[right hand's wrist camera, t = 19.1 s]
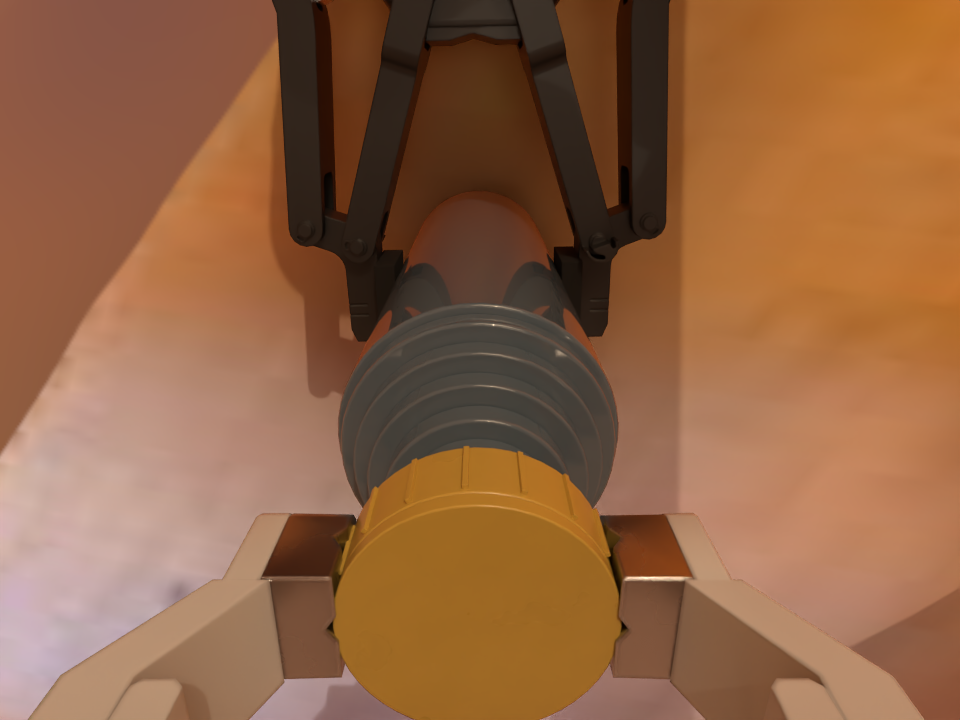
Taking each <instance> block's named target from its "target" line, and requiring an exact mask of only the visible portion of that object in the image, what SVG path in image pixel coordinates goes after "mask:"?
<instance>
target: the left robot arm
mask: <svg viewBox="0 0 960 720" xmlns="http://www.w3.org/2000/svg"><path fill="white" fill-rule="evenodd" d="M333 1H334V0H272V2H273V4H274V7H275V10H276V12H277V26H278V43H279V61H280V79H281V97H282V115H283V133H284V150H285V168H286V186H287V204H288V222H289V231H290V235H291V237H292V238H293V240H294V241H295V242H296V243H298V244H299V245H302V246H306V247H308V246H316V247H319V248H322V249H325V250H328V251H331V252H333V253H335V254H336V255H338V256H339V257H340V258H341V260H342V261H343V263H344V265H345V268H346V275H347V285H348V296H349V304H350V314H351V326H352V331H353V333H354V335H355V336H356V338H357V340H358V341H367V340H368V338H369V336H370V334H371V332H372V330H373V327H374V325H375V323H376V321H377V319H378V317H379V315H380V313H381V311H382V309H383V306H384V304H385V302H386V300H387V298H388V296H389V294H390V292H391V290H392V288H393V285H394V283H395V281H396V279H397V277H398V275H399V273H400V271H401V269H402V267H403V250H384V251H383V252H382V241H383V240H384V238H385V235H384V233H385V229H386V225H387V221H388V216H389V212H390V208H391V204H392V200H393V196H394V192H395V188H396V184H397V180H398V176H399V172H400V168H401V164H402V159H403V155H404V151H405V147H406V143H407V139H408V135H409V131H410V127H411V123H412V119H413V115H414V111H415V107H416V102H417V98H418V94H419V90H420V86H421V82H422V78H423V75H424V73H425V70H426V66H427V63H428V59H429V55H430V51H431V47H432V46H453V45H456V44H459V43H462V42H465V41H468V40H471V39H477V40H480V41H484V42H488V43H491V44H495V45H508V44H516V45H517V48H518V52H519V55H520V58H521V62H522V65H523V68H524V70H525V73H526V76H527V79H528V82H529V85H530V89H531V92H532V96H533V99H534V103H535V106H536V109H537V113H538V116H539V120H540V123H541V126H542V130H543V133H544V137H545V140H546V144H547V147H548V150H549V154H550V157H551V161H552V164H553V167H554V171H555V174H556V178H557V181H558V185H559V188H560V191H561V195H562V198H563V202H564V205H565V208H566V212H567V215H568V219H569V222H570V226H571V229H572V232H573V235H574V248H573V246H572V247H554V265H555V267H556V269H557V271H558V274H559V276H560V278H561V280H562V282H563V284H564V286H565V289H566V291H567V293H568V295H569V297H570V299H571V301H572V304H573V306H574V308H575V310H576V312H577V314H578V317H579V319H580V321H581V323H582V325H583V327H584V329H585V332H586V334H587V336H588V337H595V336H602V335H603V333H604V330H605V328H606V326H607V324H608V306H609V288H610V270H611V261H612V259H613V258H614V256H615V255H616V254H617V252H618V250H619V249H620V248H621V247H623V246H625V245H627V244H630V243H632V242H635V241H638V240H640V239H652V238H656V237H657V236H658V235H660V234H661V233H662V231H663V230H664V228H665V224H666V191H667V112H668V32H669V2H670V0H620V2H619V7H618V14H617V29H616V46H617V117H618V188H619V205H617V206H614V207H612V208H609V209H607V207H606V204H605V200H604V196H603V192H602V189H601V185H600V181H599V178H598V174H597V170H596V166H595V163H594V159H593V155H592V152H591V148H590V144H589V140H588V137H587V133H586V129H585V126H584V122H583V118H582V114H581V111H580V107H579V103H578V100H577V96H576V92H575V89H574V85H573V81H572V77H571V74H570V70H569V66H568V62H567V58H566V49H565V44H564V39H563V36H562V32H561V28H560V24H559V21H558V17H557V13H556V9H555V6H556V5H557V3H558V2H559V0H383V1H384V2H385V4H386V5H387V6H388V8H389V9H390V14H389V19H388V23H387V28H386V32H385V37H384V42H383V47H382V53H381V66H380V71H379V75H378V80H377V84H376V88H375V93H374V97H373V102H372V106H371V111H370V115H369V120H368V124H367V129H366V133H365V138H364V142H363V147H362V151H361V156H360V160H359V165H358V169H357V174H356V178H355V183H354V187H353V192H352V196H351V201H350V205H349V210H348V214H344V213H341V212H338V211H336V188H335V154H334V119H333V85H332V50H331V31H330V22H329V17H328V12H327V8H326V5H327V4H329V3H331V2H333Z"/></svg>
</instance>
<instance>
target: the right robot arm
mask: <svg viewBox="0 0 960 720" xmlns="http://www.w3.org/2000/svg"><path fill="white" fill-rule="evenodd" d="M600 520H601V523H602V527H603V530H604V533H605V537H606V540H607V544H608V547H609V551H610V554H611V556H610V557H609V560H610V563H611V567H612V570H613V574H614V577H615V581H616V584H617V588H618V591H619V598H620V599H619V610H618V615H619V618H620V619H621V620H622V627H621V633H620V635H619V636H618V637H617V638H616V639H615V650H614V656H613V658H612V659H611V661H610V666H611V670H612V675H613V677H618V678H653V679H670V682H671V683H672V684H673V685H674V686H675V687H676V688H677V690H678V691H679V692H680V693H681V694H682V695H683V696H684V697H685V698H686V699H687V700H688V701H689V702H690V703H691V704H692V705H693V707H694V708H695V709H696V710H697V711H698V712H699V713H700V714H701V715H702V716H703V717H704V718H705V719H706V720H925V719H924V718H923V716H922V715H921V714H920V712H919V711H918V710H917V708H916V707H915V705H914V704H913V703H912V701H911V700H910V698H909V697H908V696H907V694H906V693H905V692H904V690H903V689H902V687H901V686H900V685H899V683H898V682H897V680H896V679H895V678H894V676H892V675H891V674H889V673H887V672H886V671H884V670H883V669H881V668H880V667H878V666H876V665H875V664H873V663H872V662H870V661H869V660H867V659H865V658H864V657H862V656H861V655H859V654H858V653H856V652H854V651H853V650H851V649H850V648H848V647H847V646H845V645H843V644H842V643H840V642H839V641H837V640H836V639H834V638H832V637H831V636H829V635H828V634H826V633H825V632H823V631H821V630H820V629H818V628H817V627H815V626H814V625H812V624H810V623H809V622H807V621H806V620H804V619H803V618H801V617H799V616H798V615H796V614H795V613H793V612H792V611H790V610H788V609H787V608H785V607H784V606H782V605H781V604H779V603H777V602H776V601H774V600H773V599H771V598H770V597H768V596H766V595H765V594H763V593H762V592H760V591H759V590H757V589H755V588H754V587H752V586H751V585H749V584H748V583H746V582H744V581H743V580H732V579H731V577H730V575H729V573H728V571H727V569H726V567H725V566H724V564H723V562H722V560H721V558H720V556H719V555H718V553H717V551H716V549H715V547H714V545H713V543H712V542H711V540H710V538H709V536H708V534H707V532H706V531H705V529H704V527H703V525H702V523H701V521H700V519H699V518H698V516H697V515H695V514H694V513H676V514H662V515H602V516H600ZM353 525H355V526H356V518H355V516H354V515H342V514H295V513H294V514H290V513H263V514H261V515H259V516H258V517H257V518H256V519H255V521H254V523H253V524H252V526H251V528H250V530H249V532H248V533H247V535H246V537H245V539H244V541H243V543H242V544H241V546H240V548H239V550H238V552H237V554H236V555H235V557H234V559H233V561H232V563H231V565H230V566H229V568H228V570H227V572H226V574H225V575H224V577H223V579H222V580H211V581H210V582H208V583H207V584H205V585H204V586H202V587H200V588H199V589H197V590H196V591H194V592H192V593H191V594H189V595H188V596H186V597H184V598H183V599H181V600H180V601H178V602H176V603H175V604H173V605H172V606H170V607H169V608H167V609H165V610H164V611H162V612H161V613H159V614H157V615H156V616H154V617H153V618H151V619H149V620H148V621H146V622H145V623H143V624H141V625H140V626H138V627H137V628H135V629H133V630H132V631H130V632H129V633H127V634H126V635H124V636H122V637H121V638H119V639H118V640H116V641H114V642H113V643H111V644H110V645H108V646H106V647H105V648H103V649H102V650H100V651H98V652H97V653H95V654H94V655H92V656H91V657H89V658H87V659H86V660H84V661H83V662H81V663H79V664H78V665H76V666H75V667H73V668H71V669H70V670H68V671H67V672H65V673H63V674H62V675H60V677H59V678H58V679H57V681H56V682H55V684H54V685H53V686H52V688H51V689H50V690H49V692H48V693H47V694H46V696H45V697H44V698H43V700H42V701H41V702H40V704H39V705H38V707H37V708H36V709H35V711H34V712H33V713H32V715H31V716H30V717H29V719H28V720H249V719H250V718H251V717H252V716H253V715H254V714H255V713H256V712H257V711H258V710H259V708H260V707H261V706H262V705H263V704H264V703H265V702H266V701H267V700H268V699H269V698H270V697H271V696H272V695H273V694H274V693H275V692H276V691H277V690H278V689H279V687H280V686H281V685H282V684H283V683H284V679H301V678H335V677H342V674H343V670H344V666H345V662H344V660H343V659H342V657H341V653H340V644H339V639H338V638H337V637H336V636H335V634H334V630H333V620H334V618H335V617H336V606H335V594H336V591H337V587H338V584H339V581H340V577H341V575H340V567H341V564H342V561H343V559H342V555H343V551H344V548H345V545H346V542H347V541H349V537H350V534H351V531H352V528H353Z"/></svg>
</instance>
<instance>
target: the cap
mask: <svg viewBox="0 0 960 720" xmlns="http://www.w3.org/2000/svg"><path fill="white" fill-rule="evenodd" d="M610 556H611V554H610V551H609V547H608V544H607V540H606V537H605V533H604V530H603V527H602V523H601V520H600V516H599V513H598V510H597V509H596V508H595V509H592V507H591V505H590V503H589V502H588V501H587V499H586V498H585V497H584V495H583V494H582V493H581V491H580V490H579V489H578V488H577V487H576V486H575V485H574V484H573V483H572V482H571V481H570V480H569V476H568V475H567V474H565V473H564V474H563V475H562V474H561V473H559V472H558V471H557V470H555V469H553V468H551V467H550V466H548V465H546V464H545V463H543V462H541V461H538V460H536V459H534V458H531V457H529V456H526V455H523V452H520V451H518V452H517V453H516V452H512V451H508V450H502V449H495V448H479V447H473V448H469V446H464V447H463V448H459V449H453V450H448V451H443V452H439V453H436V454H432V455H429V456H426V457H424V458H421V459H419V460H417V458H415V459H413V460H412V462H411V463H410V464H409V465H407V466H405V467H404V468H402V469H400V470H399V471H397V472H396V473H394V474H393V475H392V476H390V477H389V478H388V479H387V480H386V481H384V482H383V483H382V484H381V485H380V486H379V487H378V488H377V487H376V486H375V487H374V488H373V489H372V492H371V495H370V498H369V500H368V501H367V502H366V504H365V505H364V507H363V509H362V511H361V513H360V515H359V517H358V519H357V523H356V526H355V525H353V528H352V531H351V534H350V537H349V541H347V542H346V545H345V548H344V551H343V555H342V559H343V561H342V564H341V567H340V575H341V577H340V581H339V584H338V587H337V591H336V594H335V606H336V617H335V618H334V620H333V630H334V634H335V636H336V637H337V638H338V639H339V644H340V653H341V657H342V659H343V660H344V662H345V664H346V666H347V667H348V669H349V671H350V672H351V673H352V675H353V676H354V677H355V678H356V680H357V681H358V682H359V683H360V684H361V685H362V686H363V687H364V688H365V689H366V690H367V691H368V692H369V693H370V694H371V695H373V696H374V697H375V698H376V699H378V700H379V701H380V702H382V703H383V704H385V705H386V706H388V707H390V708H391V709H393V710H395V711H397V712H399V713H401V714H403V715H405V716H407V717H410V718H412V719H415V720H540V719H543V718H545V717H548V716H550V715H552V714H554V713H556V712H558V711H560V710H562V709H563V708H565V707H567V706H568V705H570V704H571V703H573V702H575V701H576V700H577V699H578V698H580V697H581V696H582V695H583V694H585V693H586V692H587V691H588V690H589V689H590V688H591V687H592V686H593V685H594V684H595V683H596V682H597V681H598V680H599V678H600V677H601V675H602V674H603V673H604V671H605V670H606V669H607V667H608V665H609V663H610V661H611V659H612V658H613V656H614V650H615V639H616V638H617V637H618V636H619V635H620V633H621V627H622V620H621V619H620V618H619V615H618V610H619V599H620V598H619V591H618V588H617V584H616V581H615V577H614V574H613V570H612V567H611V563H610V560H609V557H610Z"/></svg>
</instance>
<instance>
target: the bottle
mask: <svg viewBox="0 0 960 720" xmlns="http://www.w3.org/2000/svg"><path fill="white" fill-rule="evenodd" d="M338 437H339V444H340V451H341V454H342V459H343V465H344V469H345V472H346V476H347V479H348V481H349V484H350V486H351V488H352V490H353V492H354V495H355V496H356V498H357V499H358V501H359V503H360V504H361V506H362V507H364V505H365V504H366V502H367V501H368V500H369V498H370V495H371V492H372V489H373V488H374V487H375V486H376V487H377V488H378V487H379V486H380V485H381V484H382V483H383V482H384V481H386V480H387V479H388V478H389V477H390V476H392V475H393V474H394V473H396V472H397V471H399V470H400V469H402V468H404V467H405V466H407V465H409V464H410V463H411V462H412V460H413V459H415V458H417V460H419V459H421V458H424V457H426V456H429V455H432V454H436V453H439V452H443V451H448V450H453V449H459V448H463V447H464V446H469V448H473V447H479V448H495V449H502V450H508V451H512V452H516V453H517V452H518V451H520V452H523V455H526V456H529V457H531V458H534V459H536V460H538V461H541V462H543V463H545V464H546V465H548V466H550V467H551V468H553V469H555V470H557V471H558V472H559V473H561V474H562V475H563V474H564V473H565V474H567V475H568V476H569V480H570V481H571V482H572V483H573V484H574V485H575V486H576V487H577V488H578V489H579V490H580V491H581V493H582V494H583V495H584V497H585V498H586V499H587V501H588V502H589V503H590V505H591V507H592V509H593V508H594V506H595V505H596V503H597V502H598V500H599V499H600V497H601V495H602V493H603V491H604V489H605V487H606V485H607V482H608V479H609V477H610V474H611V471H612V466H613V461H614V457H615V452H616V447H617V441H618V415H617V406H616V403H615V399H614V395H613V391H612V389H611V386H610V384H609V382H608V379H607V377H606V375H605V373H604V370H603V368H602V366H601V364H600V362H599V360H598V357H597V355H596V353H595V351H594V349H593V347H592V345H591V342H590V340H589V338H588V336H587V334H586V332H585V329H584V327H583V325H582V323H581V321H580V319H579V317H578V314H577V312H576V310H575V308H574V306H573V304H572V301H571V299H570V297H569V295H568V293H567V291H566V289H565V286H564V284H563V282H562V280H561V278H560V276H559V274H558V271H557V269H556V267H555V265H554V263H553V261H552V258H551V256H550V254H549V252H548V250H547V248H546V246H545V243H544V241H543V239H542V237H541V235H540V233H539V230H538V228H537V226H536V224H535V223H534V221H533V219H532V218H531V217H530V215H529V214H528V213H527V212H526V211H525V210H524V209H523V208H522V207H521V206H520V205H519V204H517V203H516V202H515V201H513V200H511V199H509V198H508V197H506V196H503V195H500V194H498V193H493V192H489V191H470V192H464V193H461V194H458V195H455V196H453V197H451V198H448V199H447V200H445V201H444V202H442V203H441V204H439V205H438V206H437V207H436V208H435V209H434V210H433V211H432V212H431V213H430V214H429V215H428V217H427V218H426V220H425V221H424V223H423V225H422V227H421V229H420V231H419V233H418V235H417V237H416V239H415V241H414V243H413V245H412V248H411V250H410V252H409V254H408V256H407V258H406V260H405V262H404V264H403V267H402V269H401V271H400V273H399V275H398V277H397V279H396V281H395V283H394V285H393V288H392V290H391V292H390V294H389V296H388V298H387V300H386V302H385V304H384V306H383V309H382V311H381V313H380V315H379V317H378V319H377V321H376V323H375V325H374V327H373V330H372V332H371V334H370V336H369V338H368V340H367V342H366V344H365V346H364V349H363V351H362V353H361V355H360V357H359V359H358V361H357V363H356V365H355V367H354V370H353V372H352V374H351V376H350V378H349V380H348V382H347V384H346V387H345V390H344V393H343V396H342V399H341V404H340V410H339V416H338Z"/></svg>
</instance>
